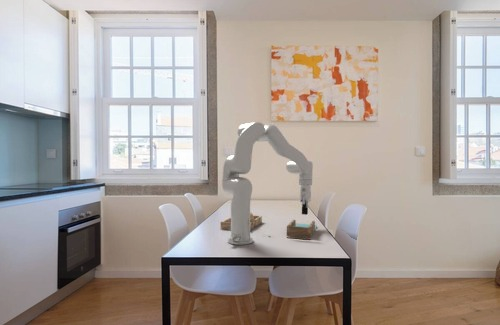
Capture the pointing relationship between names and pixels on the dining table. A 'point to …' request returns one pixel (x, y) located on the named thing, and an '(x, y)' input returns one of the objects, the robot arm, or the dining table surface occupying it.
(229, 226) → the vegetable crate
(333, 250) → the dining table surface
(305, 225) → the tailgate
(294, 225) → the box
